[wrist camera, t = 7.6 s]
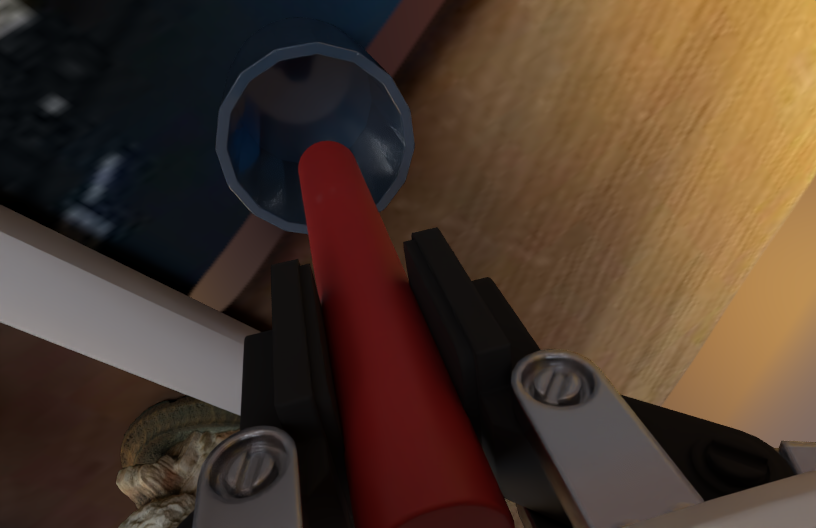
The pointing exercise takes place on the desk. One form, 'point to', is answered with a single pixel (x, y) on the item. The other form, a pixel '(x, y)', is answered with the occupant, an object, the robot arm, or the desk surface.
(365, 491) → the red cylindrical rod
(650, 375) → the desk surface
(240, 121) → the tumbler
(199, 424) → the owl figurine
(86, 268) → the tube
